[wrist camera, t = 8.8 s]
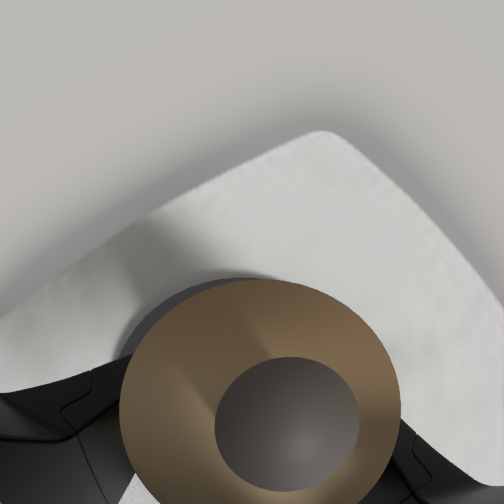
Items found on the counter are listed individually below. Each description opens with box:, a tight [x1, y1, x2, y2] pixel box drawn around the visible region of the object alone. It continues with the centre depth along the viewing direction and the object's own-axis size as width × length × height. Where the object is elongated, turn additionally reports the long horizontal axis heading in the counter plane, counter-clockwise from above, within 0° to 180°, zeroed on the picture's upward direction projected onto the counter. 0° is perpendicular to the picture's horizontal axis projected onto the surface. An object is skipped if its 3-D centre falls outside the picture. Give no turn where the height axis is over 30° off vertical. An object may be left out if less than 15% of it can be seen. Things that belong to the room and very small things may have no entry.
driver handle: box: [119, 279, 401, 504], centre depth 8 cm, size 4×4×13 cm
